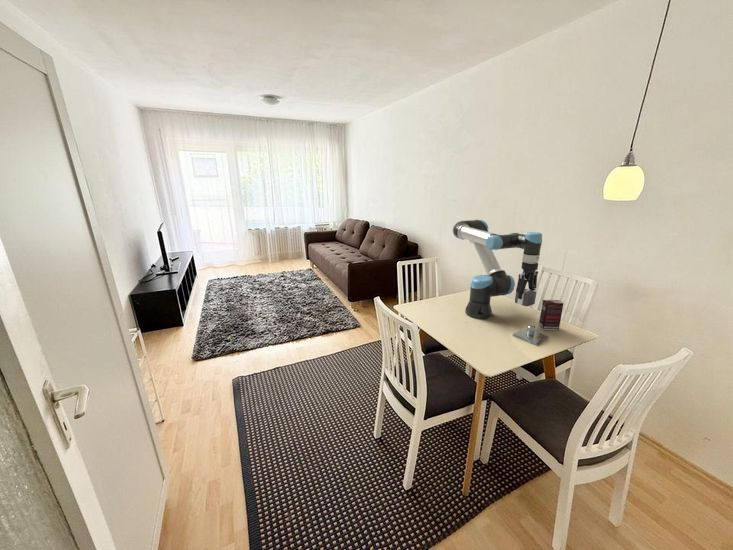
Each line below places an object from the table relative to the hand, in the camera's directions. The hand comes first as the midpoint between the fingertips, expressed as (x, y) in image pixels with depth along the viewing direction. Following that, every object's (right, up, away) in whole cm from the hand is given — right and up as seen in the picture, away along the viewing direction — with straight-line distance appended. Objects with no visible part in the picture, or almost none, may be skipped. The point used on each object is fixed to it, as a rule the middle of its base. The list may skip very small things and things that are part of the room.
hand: (524, 302), depth 161 cm
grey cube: (0, 0, 0) cm, 0 cm away
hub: (-2, -17, -10) cm, 19 cm away
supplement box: (+12, -14, -1) cm, 19 cm away
